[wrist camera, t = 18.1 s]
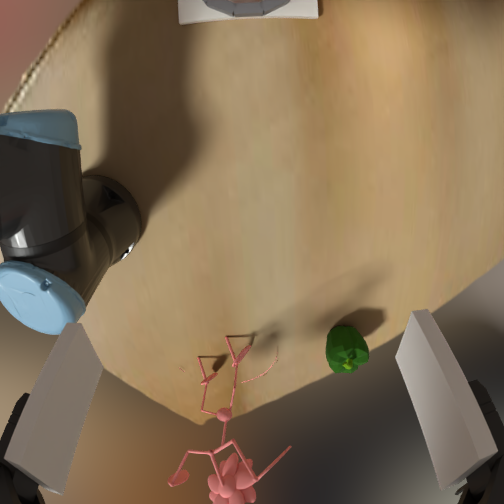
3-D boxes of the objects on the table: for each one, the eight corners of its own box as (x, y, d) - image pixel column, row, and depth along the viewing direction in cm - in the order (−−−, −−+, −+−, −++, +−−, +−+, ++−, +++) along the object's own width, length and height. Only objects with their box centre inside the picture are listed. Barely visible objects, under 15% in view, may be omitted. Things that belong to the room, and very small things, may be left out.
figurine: (172, 371, 69) (152, 516, 39) (251, 312, 59) (259, 501, 29) (223, 397, 74) (221, 529, 45) (304, 347, 65) (331, 508, 35)
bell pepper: (363, 339, 64) (375, 375, 55) (327, 351, 65) (335, 388, 57) (357, 313, 60) (371, 350, 51) (317, 326, 61) (326, 365, 53)
